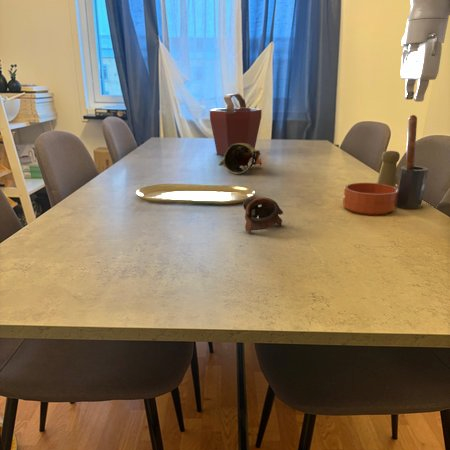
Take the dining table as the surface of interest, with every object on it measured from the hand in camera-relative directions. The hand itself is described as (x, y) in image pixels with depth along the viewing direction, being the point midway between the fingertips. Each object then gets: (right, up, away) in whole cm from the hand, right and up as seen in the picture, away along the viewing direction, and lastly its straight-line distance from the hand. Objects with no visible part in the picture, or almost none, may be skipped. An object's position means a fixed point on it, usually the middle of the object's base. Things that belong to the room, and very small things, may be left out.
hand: (413, 100), depth 107 cm
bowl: (-9, -25, +8) cm, 28 cm away
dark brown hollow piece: (-39, -33, -6) cm, 51 cm away
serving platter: (-56, -19, +20) cm, 62 cm away
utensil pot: (+3, -24, +10) cm, 26 cm away
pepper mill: (+4, -14, +30) cm, 33 cm away
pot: (-40, -3, +52) cm, 66 cm away
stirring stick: (+3, -23, +10) cm, 25 cm away
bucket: (-43, +18, +91) cm, 102 cm away
